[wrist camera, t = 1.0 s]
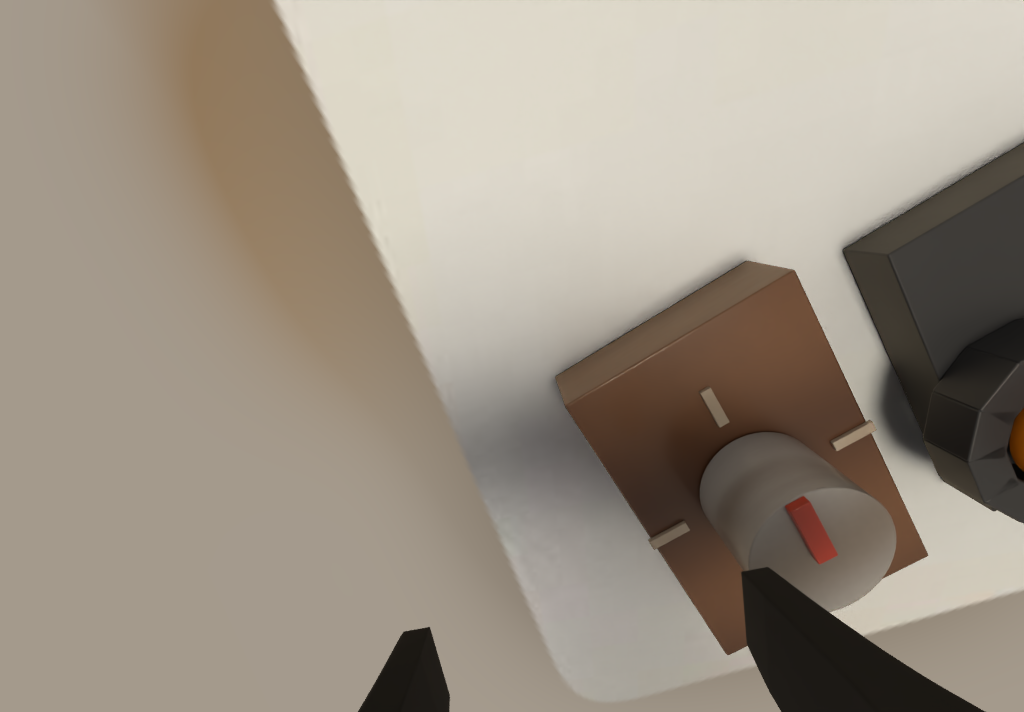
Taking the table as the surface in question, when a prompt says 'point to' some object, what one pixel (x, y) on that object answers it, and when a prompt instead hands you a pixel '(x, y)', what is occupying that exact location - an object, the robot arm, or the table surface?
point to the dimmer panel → (722, 420)
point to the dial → (797, 518)
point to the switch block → (958, 323)
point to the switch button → (1018, 440)
